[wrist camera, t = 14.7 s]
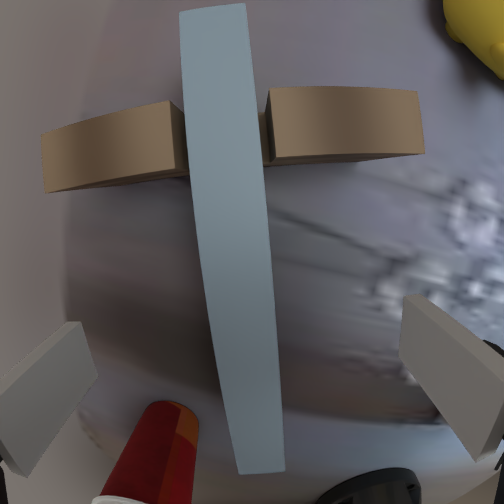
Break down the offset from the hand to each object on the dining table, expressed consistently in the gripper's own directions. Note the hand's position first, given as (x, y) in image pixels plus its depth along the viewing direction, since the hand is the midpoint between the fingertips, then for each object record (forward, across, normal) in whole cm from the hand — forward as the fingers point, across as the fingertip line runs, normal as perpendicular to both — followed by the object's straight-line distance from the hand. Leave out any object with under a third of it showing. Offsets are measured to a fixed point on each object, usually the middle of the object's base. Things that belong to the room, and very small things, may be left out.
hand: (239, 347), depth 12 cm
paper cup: (+13, +9, +15) cm, 22 cm away
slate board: (+13, 0, -2) cm, 13 cm away
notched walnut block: (+12, 0, -9) cm, 15 cm away
